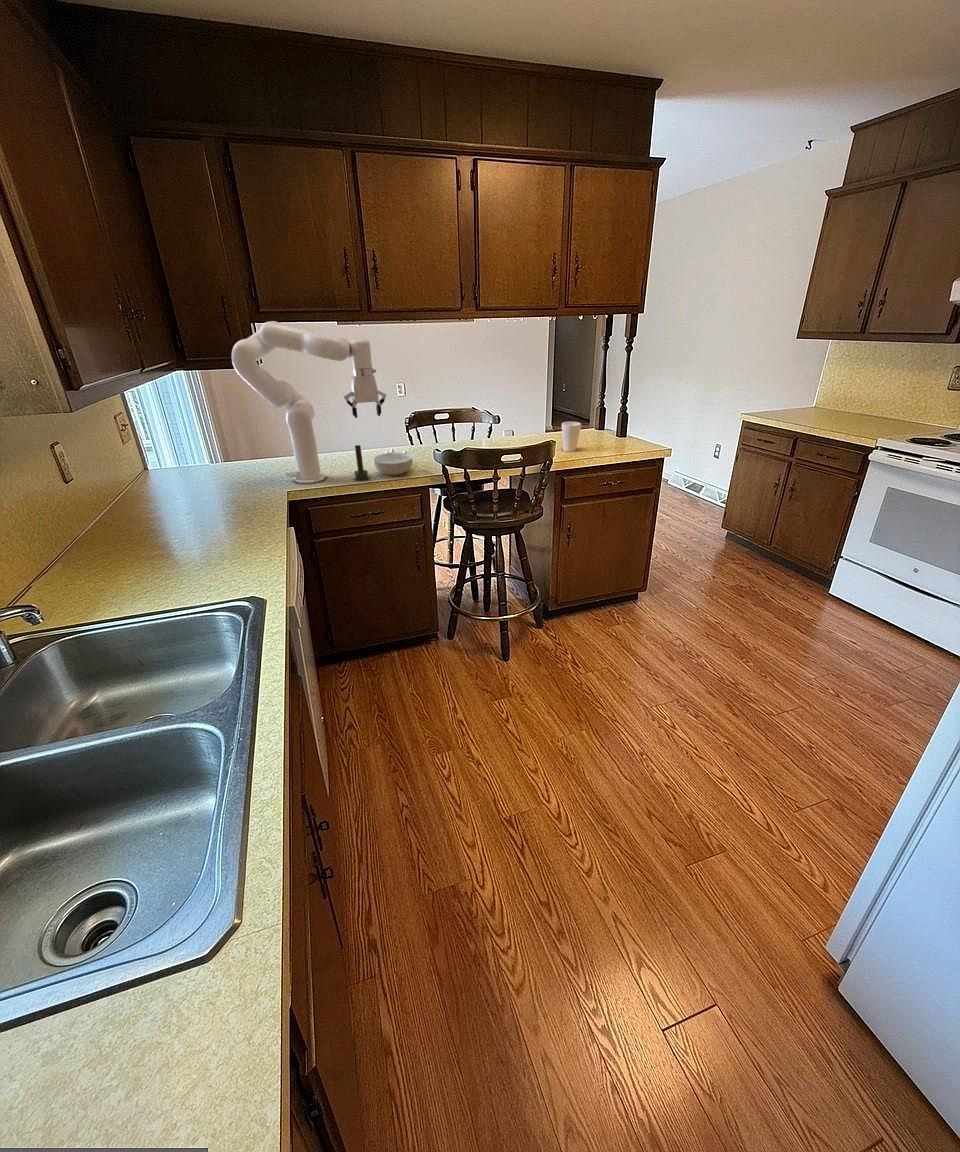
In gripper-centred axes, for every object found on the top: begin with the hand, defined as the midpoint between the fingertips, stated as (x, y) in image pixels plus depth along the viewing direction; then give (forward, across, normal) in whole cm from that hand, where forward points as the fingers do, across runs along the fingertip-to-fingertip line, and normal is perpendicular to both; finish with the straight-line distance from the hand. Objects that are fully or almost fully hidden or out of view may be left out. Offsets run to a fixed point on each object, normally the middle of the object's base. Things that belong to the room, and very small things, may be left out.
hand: (367, 416), depth 215 cm
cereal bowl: (+26, -10, 0) cm, 27 cm away
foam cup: (+24, -101, +1) cm, 104 cm away
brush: (+26, +6, +2) cm, 26 cm away
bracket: (+26, -15, -16) cm, 34 cm away
